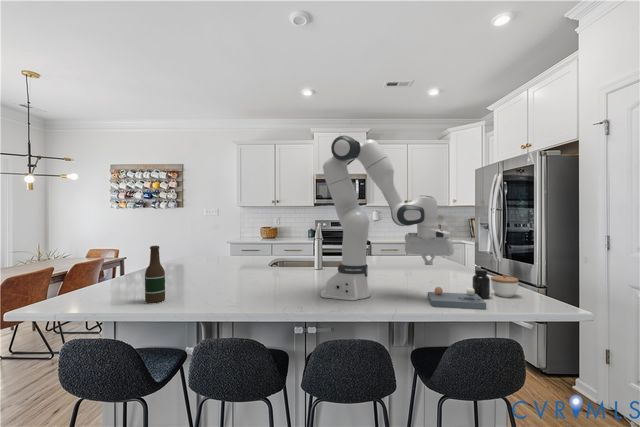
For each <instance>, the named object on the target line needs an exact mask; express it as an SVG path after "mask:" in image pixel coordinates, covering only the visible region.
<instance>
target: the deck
mask: <svg viewBox="0 0 640 427" xmlns="http://www.w3.org/2000/svg"><path fill="white" fill-rule="evenodd" d="M427 299H428V301H429V304H430V305H431V307H432V308H450V309H466V310H467V309H470V310H473V309H474V310H487V302H486V301H485V299H482V298H480V297H479V296H478V295H477V294H473V295H469V294H467V292H466V293H462V292H461V293H460V292H442V294H440V295H438V294H436V293H435V291H427Z"/></svg>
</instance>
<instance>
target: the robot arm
mask: <svg viewBox="0 0 640 427" xmlns="http://www.w3.org/2000/svg"><path fill="white" fill-rule="evenodd" d="M331 153H332V157H330V158H328V159H326V161H325V162H324V163H323V166H322V170H323V171H322V172H323V175H324V176H323V177H324V179H325V180H324V181H325V183H326V186H327V188H328V191H329V194H330V196H331V199H332V201H333V202H332V203H333V204H334V208H335V211H336V214H337V217H338V218H337V219H338V221H339V223H340V226H341V228H342V230H343V231H342V245H341V262H340V263H338V264H337V272H336V273H335V274H333V275H332V276H331V277H330V278H329V279H327V281H326V284H325V289H323V290H321V291H320V297H321V298H325V299H335V300H343V301H356V300H362V299H363V300H364V299H367V298H369V297H371V292H370V289H369V283H368V282H369V281H368V275H369V268H368V267H369V266H368V264H367V243H368V235H369V225H370V220H369V219H370V218H369V217H368V215H367V213H366V212H364V211H363V210H361V208H360V204H359V200H358V196H357V192H356V189H355V187H354V183H353V181H352V178H351V176H350V173H349V169H348V165H350V164H351V163H353V162H354V161H355V160H357V161H359V162H360V164H361V165H362V166H363V168H364V170H365V172H366V174H367V175H368V176H369V178H370V179H371V180H372V181H373V183H374V184H375V185H376V186H377V187H378V189H379V190H380V191H381V193H382V194H383V197H384V199H385V201H386V202H387V204H388V206H389V208H390V214H391V215H390V216H391V219H392V221H393V222H394V224H396V225H397V226H400V227H410V226H413V225H416V232H407V233H406V234H405V235H404V241H405V242H404V243H405V244H404V252H405V253H406V254H411V255H421V258H422V259H423V261H424V265H425V266H433V264H434V263H433V262H434V260H435V258H436V256H452V255H453V254H454V244H453V243H454V242H453V240H452V239H451V238H450V237H451V233H450V231H448V230H444V229H440V228H439V223H438V222H439V221H438V219H439V208H438V203H437V202H438V201H437V199H436V197H433V196H431V195H418V196H417V197H416V198H414V199H413V200H411V201H409V202H406V203H405V202H404V201H403V199H402V198H401V196H400V194H399V192H398V190H397V189H396V188H397V187H396V185H395V183H394V174H395V170H394V168H393V165H392V163H391V160H390V158H389V157H388V155H387V154H386V152H385V150H384V149H383V147H382V146H381V145H380V144H379V143H378V142H377V141H376V140H375V139H370V138H369V139H365V140H364V141H362V142H359V141H358V140H356V139H355V138H353V137H351V136H348V135H340V136H337V137H336V138H335V139H334V140H333V141H332V143H331ZM427 255H428V256H429V255H430V260H428V259H427Z"/></svg>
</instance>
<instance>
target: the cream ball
mask: <svg viewBox="0 0 640 427" xmlns="http://www.w3.org/2000/svg"><path fill="white" fill-rule="evenodd" d="M474 293H475V290H474V289H473V287H467V288H466V294H469V295H473V294H474Z"/></svg>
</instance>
